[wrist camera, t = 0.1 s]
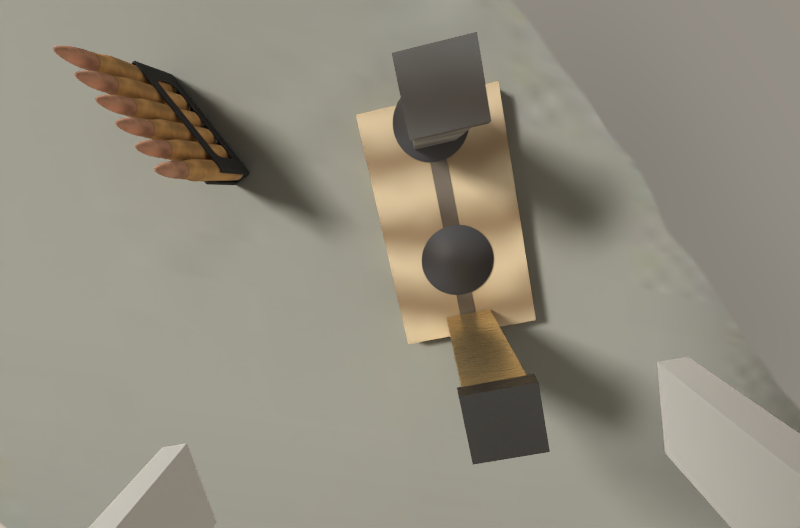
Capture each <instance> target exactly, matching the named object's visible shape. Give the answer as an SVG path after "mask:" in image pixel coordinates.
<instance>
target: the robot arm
mask: <svg viewBox="0 0 800 528" xmlns="http://www.w3.org/2000/svg"><path fill="white" fill-rule="evenodd" d="M657 366H658V378H659V389H660V401H661V412H662V424H663V435H664V447H665V453H666V455H667V456H668V457H669V458H670V459H671V460H672V461H673V462H674V464H675V465H676V466H677V467H678V468H679V469H680V470H681V472H682V473H683V474H684V475H685V476H686V477H687V478H688V479H689V481H690V482H691V483H692V484H693V485H694V486H695V487H696V489H697V490H698V491H699V492H700V493H701V494H702V495H703V496H704V498H705V499H706V500H707V501H708V502H709V503H710V504H711V506H712V507H713V508H714V509H715V510H716V511H717V512H718V513H719V515H720V516H721V517H722V518H723V519H724V520H725V521H726V522H727V524H728V525H729V526H730V527H731V528H800V433H798V432H797V431H795V430H794V429H792V428H791V427H789V426H788V425H786V424H785V423H784V422H782V421H781V420H779V419H778V418H776V417H775V416H773V415H772V414H770V413H769V412H767V411H766V410H765V409H763V408H762V407H760V406H759V405H757V404H756V403H754V402H753V401H751V400H750V399H748V398H747V397H746V396H744V395H743V394H741V393H740V392H738V391H737V390H735V389H734V388H732V387H731V386H729V385H728V384H727V383H725V382H724V381H722V380H721V379H719V378H718V377H716V376H715V375H713V374H712V373H710V372H709V371H708V370H706V369H705V368H703V367H702V366H700V365H699V364H697V363H696V362H694V361H693V360H691V359H690V358H689V357H684V358H678V359H672V360H667V361H661V362H657ZM215 523H216V520H215V517H214V515H213V512H212V509H211V507H210V504H209V501H208V499H207V496H206V493H205V491H204V488H203V485H202V483H201V480H200V477H199V475H198V472H197V469H196V467H195V464H194V461H193V459H192V456H191V453H190V451H189V448H188V445H187V443H186V444H180V445H174V446H168V447H162V448H161V449H160V450H159V451H158V453H157V454H156V455H155V456H154V457H153V458H152V459H151V460H150V461H149V462H148V463H147V465H146V466H145V467H144V468H143V469H142V470H141V471H140V472H139V473H138V474H137V475H136V477H135V478H134V479H133V480H132V481H131V482H130V483H129V484H128V485H127V486H126V487H125V488H124V490H123V491H122V492H121V493H120V494H119V495H118V496H117V497H116V498H115V499H114V500H113V502H112V503H111V504H110V505H109V506H108V507H107V508H106V509H105V510H104V511H103V512H102V514H101V515H100V516H99V517H98V518H97V519H96V520H95V521H94V522H93V523H92V524H91V526H90V527H89V528H213V527H214V525H215Z"/></svg>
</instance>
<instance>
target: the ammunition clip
mask: <svg viewBox="0 0 800 528" xmlns="http://www.w3.org/2000/svg"><path fill="white" fill-rule="evenodd" d="M53 50H54V52H55V53H56V54H57V55H59V56H60V57H61V58H63V59H64V60H66V61H68V62H69V63H71V64H73V65H75V66H78V67H80V68H83V69H86V70H88V71H78V72H75V73H74V75H75V77H76V78H77V79H78V80H80V81H81V82H83V83H84V84H86V85H88V86H89V87H91V88H94V89H96V90H99V91H102V92H105V93H108V94H110V95H101V96H98V97H96V98H95V100H96V102H97V103H98V104H100V105H101V106H103V107H104V108H106V109H108V110H110V111H112V112H115V113H118V114H122V115H126V116H129V117H132V118H123V119H119V120H117V121H116V122H115V124H116V125H117V126H118V127H119V128H120V129H122V130H124V131H126V132H128V133H130V134H133V135H137V136H142V137H146V138H150V139H153V140H145V141H141V142H139V143H137V144H136V145H135V148H136V149H137V150H138V151H140V152H142V153H144V154H146V155H149V156H153V157H158V158H164V159H169V160H172V161H169V162H163V163H161V164H158V165H157V166H156V167H155V168H154V171H155V172H156V173H158V174H160V175H162V176H165V177H169V178H176V179H186V180H190V181H204V182H205V183H206V184H218V185H236V184H237V183H239V182H240V181H241V180H242V179H243V178H245V177H246V176H247V175H248V174H249V171H248V170H247V168H246V167H245V166H244V165H243V163H242V162H241V161H240V160H239V158H238V157H237V156H236V155H235V153H234V152H233V151H232V150H231V148H230V147H229V146H228V145H227V143H226V142H225V141H224V140H223V138H222V137H221V136H220V135H219V133H218V132H217V131H216V130H215V128H214V127H213V126H212V125H211V123H210V122H209V121H208V119H207V118H206V117H205V116H204V114H203V113H202V112H201V111H200V109H199V108H198V107H197V106H196V104H195V103H194V102H193V101H192V99H191V98H190V97H189V96H188V94H187V93H186V92H185V91H184V89H183V88H182V87H181V86H180V84H179V83H178V82H177V81H176V79H175V78H174V77H173V76H172V74H169V73H166V72H164V71H161V70H158V69H155V68H153V67H150V66H147V65H145V64H142V63H139V62H136V61H133V62H132V64H130V63H128V62H125V61H122V60H120V59H117V58H114V57H112V56H108V55H101V54H97V53H94V52H90V51H87V50H84V49H80V48H76V47H71V46H56V47H53ZM135 65H136V66H135Z"/></svg>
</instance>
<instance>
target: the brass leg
mask: <svg viewBox="0 0 800 528" xmlns="http://www.w3.org/2000/svg"><path fill="white" fill-rule="evenodd" d="M447 323H448V328H449V333H450V338H451V343H452V348H453V353H454V357H455V362H456V367H457V371H458V376H459V380H460V385H461V387H458V388H457V390H458V395H459V399H460V404H461V409H462V414H463V419H464V424H465V428H466V433H467V438H468V443H469V448H470V453H471V457H472V462H473V464H478V463H484V462H490V461H496V460H503V459H509V458H515V457H521V456H527V455H533V454H539V453H545V452H550V451H549V445H548V439H547V433H546V427H545V420H544V414H543V408H542V402H541V395H540V389H539V383H538V381H537V379H536V378H535V376H534V374H531V375H526V373H525V371H524V369H523V368H522V366H521V364H520V362H519V361H518V359H517V357H516V355H515V353H514V352H513V350H512V348H511V346H510V345H509V343H508V341H507V339H506V337H505V336H504V334H503V332H502V330H501V329H500V327H499V325H498V323H497V321H496V320H495V318H494V316H493V314H492V313H491V311H490V309H488V310H483V311H478V312H472V313H467V314H462V315H457V316H452V317H447Z"/></svg>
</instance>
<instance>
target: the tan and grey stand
mask: <svg viewBox="0 0 800 528" xmlns="http://www.w3.org/2000/svg"><path fill="white" fill-rule="evenodd" d="M392 56H393V61H394V66H395V71H396V76H397V81H398V85H399V90H400V95H401V98H400V100H399V101H398V103H397V105H395V106H391V107H387V108H383V109H378V110H374V111H370V112H366V113H362V114H357V115H356V118H357V122H358V126H359V131H360V135H361V140H362V144H363V148H364V153H365V157H366V161H367V166H368V170H369V175H370V179H371V183H372V188H373V192H374V196H375V201H376V205H377V209H378V214H379V218H380V223H381V227H382V231H383V236H384V240H385V244H386V249H387V253H388V258H389V262H390V266H391V271H392V275H393V279H394V284H395V288H396V293H397V297H398V301H399V306H400V310H401V314H402V319H403V323H404V328H405V332H406V336H407V341H408V344H412V343H418V342H423V341H428V340H433V339H439V338H444V337H449V336H450V333H449V328H448V323H447V317H452V316H457V315H462V314H467V313H472V312H478V311H483V310H488V309H490V311H491V313H492V314H493V316H494V318H495V320H496V321H497V323H498V325H499V327H502V326H507V325H512V324H518V323H523V322H528V321H533V320H536V317H535V311H534V305H533V298H532V292H531V286H530V279H529V273H528V267H527V260H526V254H525V247H524V241H523V235H522V228H521V222H520V216H519V209H518V203H517V196H516V190H515V184H514V177H513V171H512V165H511V158H510V152H509V145H508V139H507V133H506V126H505V120H504V114H503V107H502V101H501V95H500V88H499V82H498V81H496V82H492V83H488V84H485V79H484V73H483V67H482V61H481V55H480V49H479V42H478V36H477V32H475V33H471V34H467V35H463V36H459V37H455V38H451V39H447V40H443V41H439V42H435V43H430V44H426V45H422V46H418V47H414V48H410V49H406V50H402V51H398V52H394V53H392Z"/></svg>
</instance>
